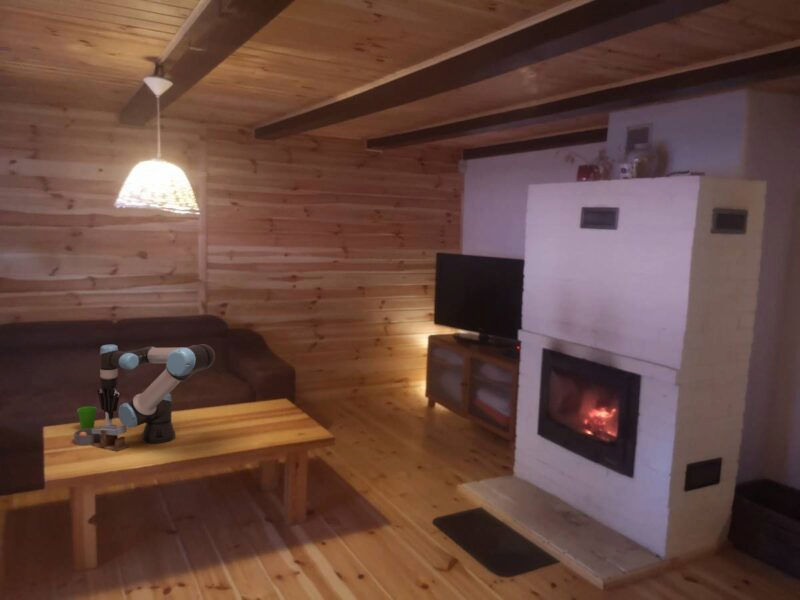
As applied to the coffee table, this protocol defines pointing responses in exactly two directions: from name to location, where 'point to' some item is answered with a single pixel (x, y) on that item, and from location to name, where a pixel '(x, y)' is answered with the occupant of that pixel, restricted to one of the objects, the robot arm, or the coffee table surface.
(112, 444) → the fulcrum
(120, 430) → the grey slab
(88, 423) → the cup
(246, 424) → the coffee table surface
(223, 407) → the coffee table surface
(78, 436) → the dish
